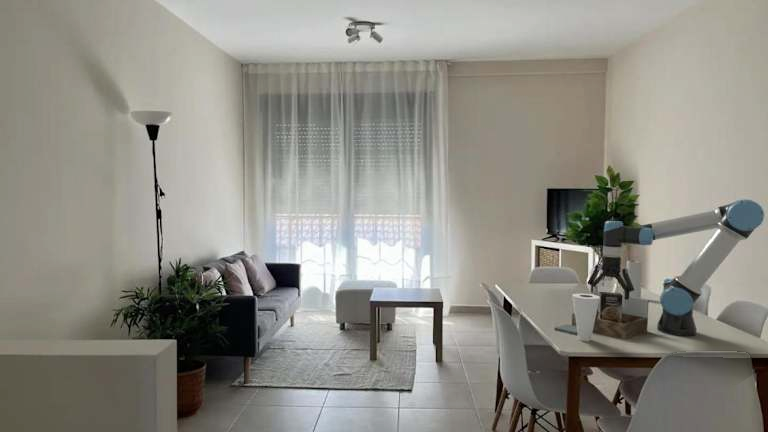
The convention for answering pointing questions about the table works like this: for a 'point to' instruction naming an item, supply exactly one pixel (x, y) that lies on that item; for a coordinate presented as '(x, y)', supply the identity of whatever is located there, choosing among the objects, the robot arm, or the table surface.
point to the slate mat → (567, 329)
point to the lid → (635, 307)
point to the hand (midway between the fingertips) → (609, 303)
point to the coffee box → (610, 306)
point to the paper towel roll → (635, 277)
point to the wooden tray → (619, 326)
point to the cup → (585, 314)
